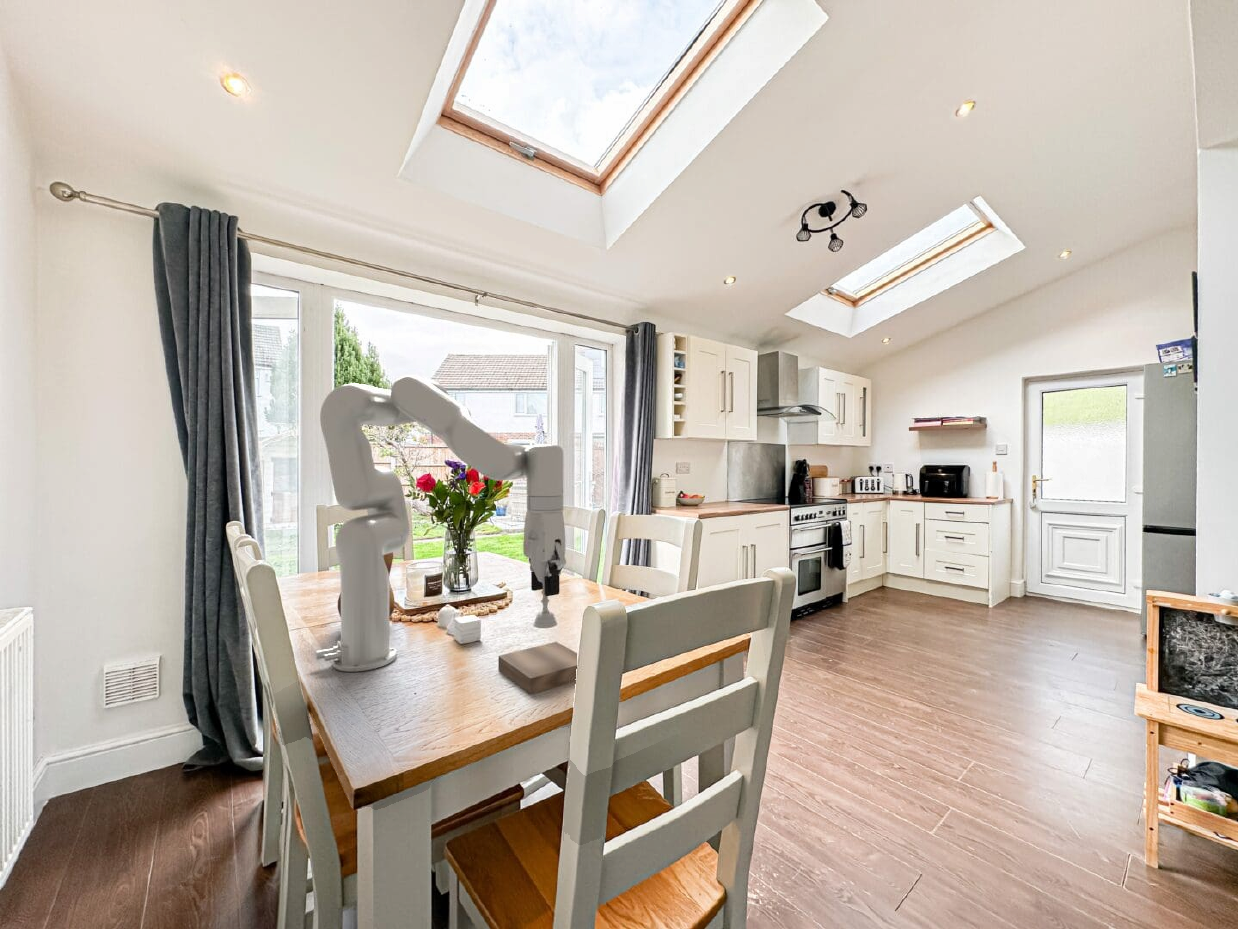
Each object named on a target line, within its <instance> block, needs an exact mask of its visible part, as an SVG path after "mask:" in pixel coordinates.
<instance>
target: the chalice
mask: <svg viewBox="0 0 1238 929" xmlns="http://www.w3.org/2000/svg"><path fill="white" fill-rule="evenodd" d="M528 539H529V538H528ZM529 541H530V543H531V565H532V568H533V571H534V573H535V575H536V577H537V579H538V581H539V582H542V583H543V589H541V592H540V593H541V594H542V599H541V601H540V602H541V603H542V610H541V611H540V612H538V613H537V614H536V615H535V616H536V617H535V619H534V622H533V624H532V626H533V628H536V629H549V628H550V629H551V628H554V627H557V625H558V622H557V620H556V617H555V614H554V613H553V612H552V611H550V609H548V605H549V602H550V599H549V598H548V597H549V596H545V576H547V575H546V567H545V566H546V562H540V561H538V560H536V547H537V546H536V544H538V541H539V540H530V539H529ZM551 560H556V557H552V558H551ZM554 564H556V563H550V566H551V567H552V566H553V565H554Z"/></svg>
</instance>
